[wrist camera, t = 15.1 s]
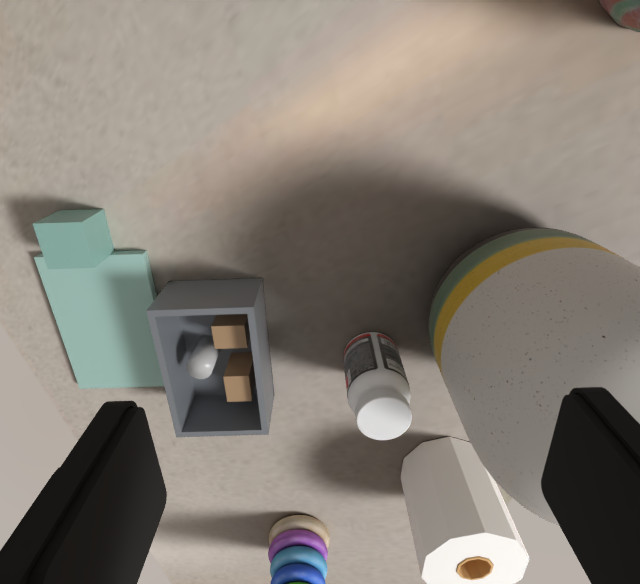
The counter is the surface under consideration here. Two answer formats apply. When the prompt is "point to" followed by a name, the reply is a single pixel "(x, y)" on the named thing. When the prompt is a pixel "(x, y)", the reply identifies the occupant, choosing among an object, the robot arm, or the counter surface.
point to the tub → (214, 356)
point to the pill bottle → (377, 386)
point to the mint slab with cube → (98, 300)
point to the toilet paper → (459, 517)
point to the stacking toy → (298, 551)
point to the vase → (533, 344)
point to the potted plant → (624, 12)
